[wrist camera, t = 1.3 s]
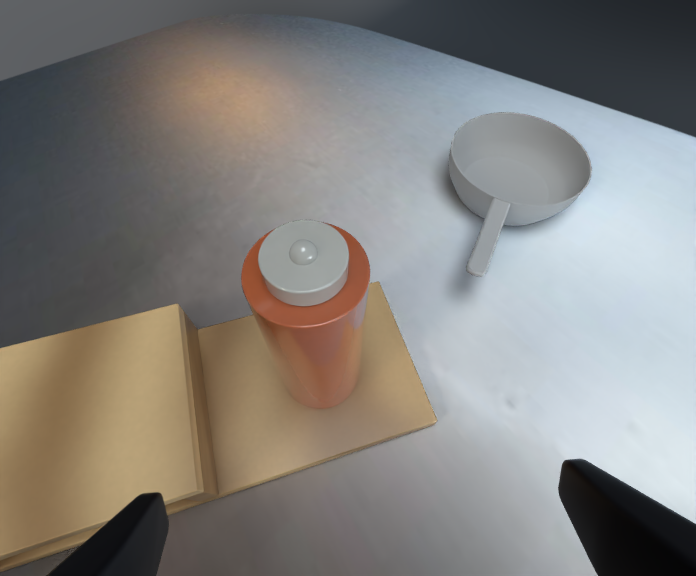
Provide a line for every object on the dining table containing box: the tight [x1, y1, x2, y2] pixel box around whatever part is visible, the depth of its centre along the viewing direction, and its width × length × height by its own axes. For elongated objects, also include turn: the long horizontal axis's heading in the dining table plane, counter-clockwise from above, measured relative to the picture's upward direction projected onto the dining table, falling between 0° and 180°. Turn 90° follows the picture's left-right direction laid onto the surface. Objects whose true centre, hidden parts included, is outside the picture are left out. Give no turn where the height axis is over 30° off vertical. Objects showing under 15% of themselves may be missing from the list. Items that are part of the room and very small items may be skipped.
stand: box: [0, 282, 437, 572], centre depth 22 cm, size 24×10×4 cm, turn 108°
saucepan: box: [448, 112, 592, 277], centre depth 30 cm, size 11×18×4 cm, turn 154°
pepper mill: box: [241, 220, 370, 409], centre depth 19 cm, size 5×5×12 cm
